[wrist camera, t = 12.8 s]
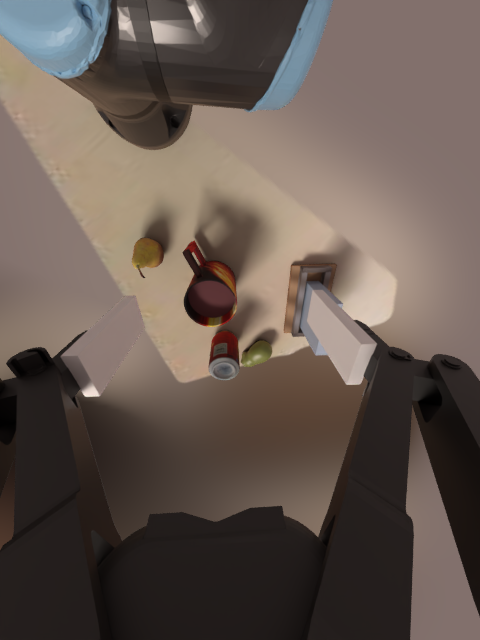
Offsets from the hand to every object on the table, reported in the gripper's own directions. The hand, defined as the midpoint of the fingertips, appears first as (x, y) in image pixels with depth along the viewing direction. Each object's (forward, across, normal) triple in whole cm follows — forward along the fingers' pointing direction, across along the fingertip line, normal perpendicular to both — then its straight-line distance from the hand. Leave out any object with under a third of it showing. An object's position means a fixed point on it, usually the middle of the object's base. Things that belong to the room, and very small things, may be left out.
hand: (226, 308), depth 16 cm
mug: (+32, -5, -8) cm, 33 cm away
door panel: (+31, +19, -16) cm, 39 cm away
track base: (+32, +19, -15) cm, 40 cm away
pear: (+32, +6, -30) cm, 45 cm away
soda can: (+32, -2, -26) cm, 41 cm away
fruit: (+32, -16, -2) cm, 36 cm away
